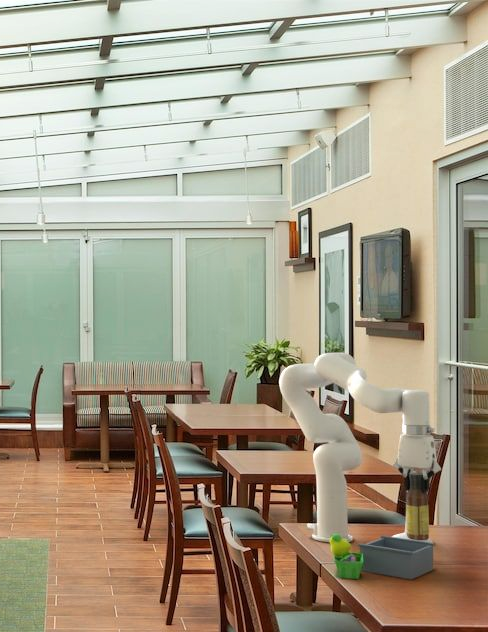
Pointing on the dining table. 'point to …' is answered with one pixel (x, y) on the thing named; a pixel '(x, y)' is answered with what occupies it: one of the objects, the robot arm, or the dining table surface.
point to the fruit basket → (345, 558)
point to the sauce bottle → (417, 509)
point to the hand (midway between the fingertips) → (416, 490)
